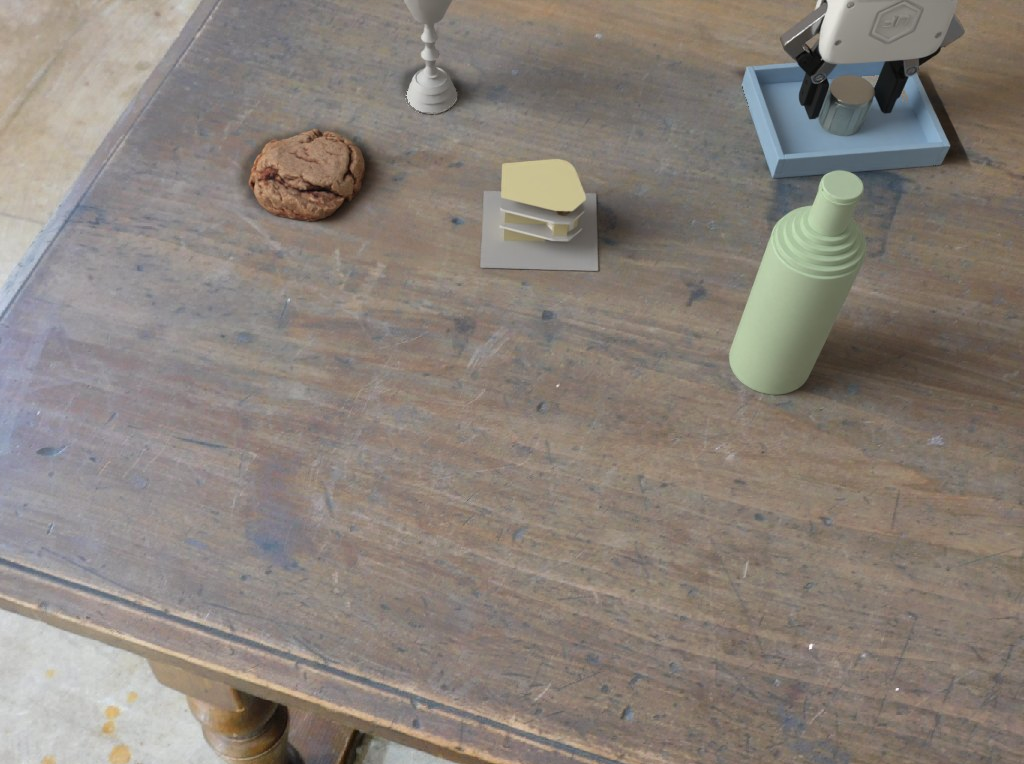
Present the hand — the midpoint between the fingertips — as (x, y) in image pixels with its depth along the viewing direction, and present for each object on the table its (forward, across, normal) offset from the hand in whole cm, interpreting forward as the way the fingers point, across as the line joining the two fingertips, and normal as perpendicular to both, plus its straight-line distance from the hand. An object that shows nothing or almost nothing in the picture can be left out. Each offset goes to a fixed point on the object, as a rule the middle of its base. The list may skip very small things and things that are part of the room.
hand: (845, 104), depth 97 cm
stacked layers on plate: (+3, -29, -10) cm, 31 cm away
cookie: (+3, -49, -2) cm, 49 cm away
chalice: (+3, -37, +8) cm, 38 cm away
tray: (+2, 0, 0) cm, 2 cm away
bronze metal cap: (+2, 0, 0) cm, 2 cm away
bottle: (+2, -13, -26) cm, 29 cm away
